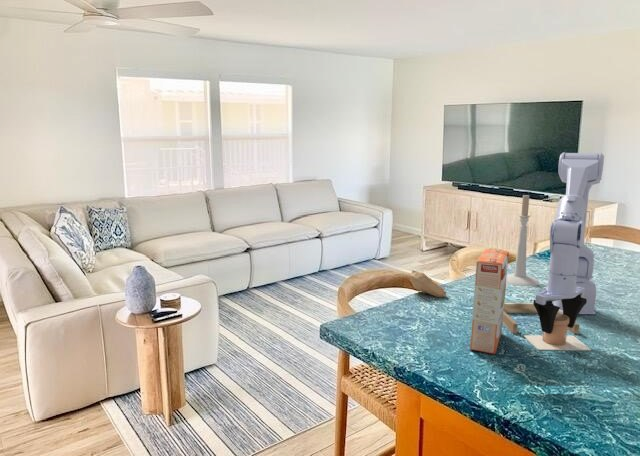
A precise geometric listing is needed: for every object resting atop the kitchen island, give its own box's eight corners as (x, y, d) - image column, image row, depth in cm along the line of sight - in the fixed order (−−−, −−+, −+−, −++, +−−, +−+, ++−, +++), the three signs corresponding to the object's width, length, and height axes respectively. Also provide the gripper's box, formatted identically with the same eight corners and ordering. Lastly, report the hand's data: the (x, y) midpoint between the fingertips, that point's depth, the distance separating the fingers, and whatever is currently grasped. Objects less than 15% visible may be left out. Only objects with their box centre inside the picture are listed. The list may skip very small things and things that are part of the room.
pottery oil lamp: (438, 302, 142) (439, 279, 140) (402, 294, 149) (403, 272, 148) (451, 295, 148) (452, 272, 147) (416, 287, 156) (417, 266, 155)
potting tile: (573, 336, 117) (573, 335, 117) (591, 350, 109) (591, 349, 109) (523, 336, 117) (523, 335, 117) (537, 350, 109) (538, 349, 109)
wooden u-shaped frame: (548, 311, 134) (549, 303, 134) (578, 334, 118) (579, 324, 118) (490, 311, 134) (491, 302, 134) (512, 333, 118) (513, 324, 118)
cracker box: (497, 355, 106) (504, 263, 102) (468, 350, 109) (474, 260, 105) (503, 333, 118) (509, 250, 115) (478, 329, 121) (483, 248, 117)
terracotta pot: (553, 334, 117) (555, 310, 116) (573, 343, 112) (575, 318, 111) (535, 338, 115) (537, 313, 114) (554, 347, 110) (556, 322, 109)
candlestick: (527, 291, 153) (535, 196, 147) (491, 282, 162) (497, 193, 157) (547, 284, 161) (555, 194, 155) (511, 275, 170) (518, 191, 165)
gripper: (567, 265, 117) (562, 318, 119) (526, 272, 110) (521, 328, 112) (595, 272, 111) (589, 328, 113) (553, 279, 104) (548, 339, 106)
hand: (557, 329), depth 112 cm, fingers open, 7 cm apart
